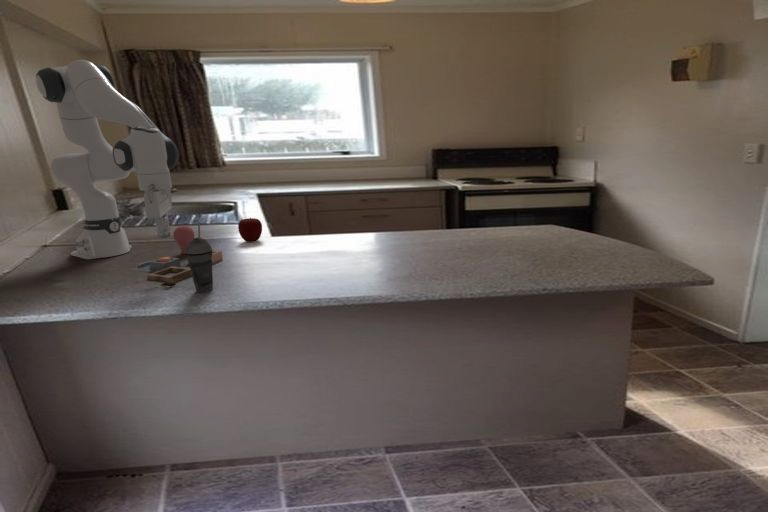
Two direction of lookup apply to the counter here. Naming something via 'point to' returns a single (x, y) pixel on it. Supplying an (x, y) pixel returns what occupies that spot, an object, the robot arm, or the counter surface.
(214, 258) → the orange brown square block
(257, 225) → the apple
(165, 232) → the cell
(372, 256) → the counter surface
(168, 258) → the test button
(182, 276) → the tray
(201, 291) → the beverage cup
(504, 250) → the counter surface
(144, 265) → the cradle
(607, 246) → the counter surface
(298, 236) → the counter surface
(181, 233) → the light bulb
